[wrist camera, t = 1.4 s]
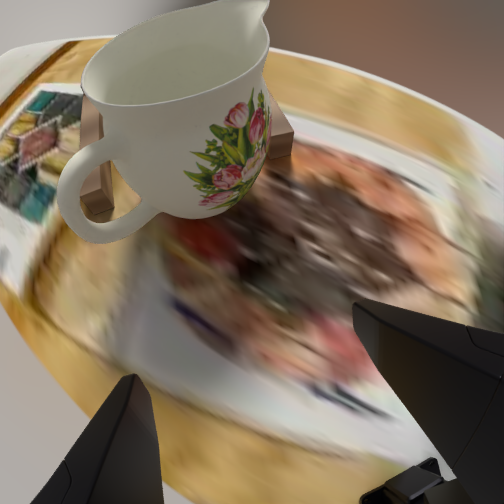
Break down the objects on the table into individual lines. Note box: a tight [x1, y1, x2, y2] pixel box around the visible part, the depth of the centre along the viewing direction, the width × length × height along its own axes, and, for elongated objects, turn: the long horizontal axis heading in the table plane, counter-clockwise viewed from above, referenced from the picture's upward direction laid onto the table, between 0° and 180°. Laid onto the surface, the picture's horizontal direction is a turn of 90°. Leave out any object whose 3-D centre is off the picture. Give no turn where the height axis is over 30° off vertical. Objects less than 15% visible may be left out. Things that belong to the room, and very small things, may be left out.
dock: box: [80, 86, 294, 215], centre depth 27 cm, size 17×18×4 cm
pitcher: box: [57, 0, 272, 244], centre depth 19 cm, size 11×18×14 cm, turn 143°
